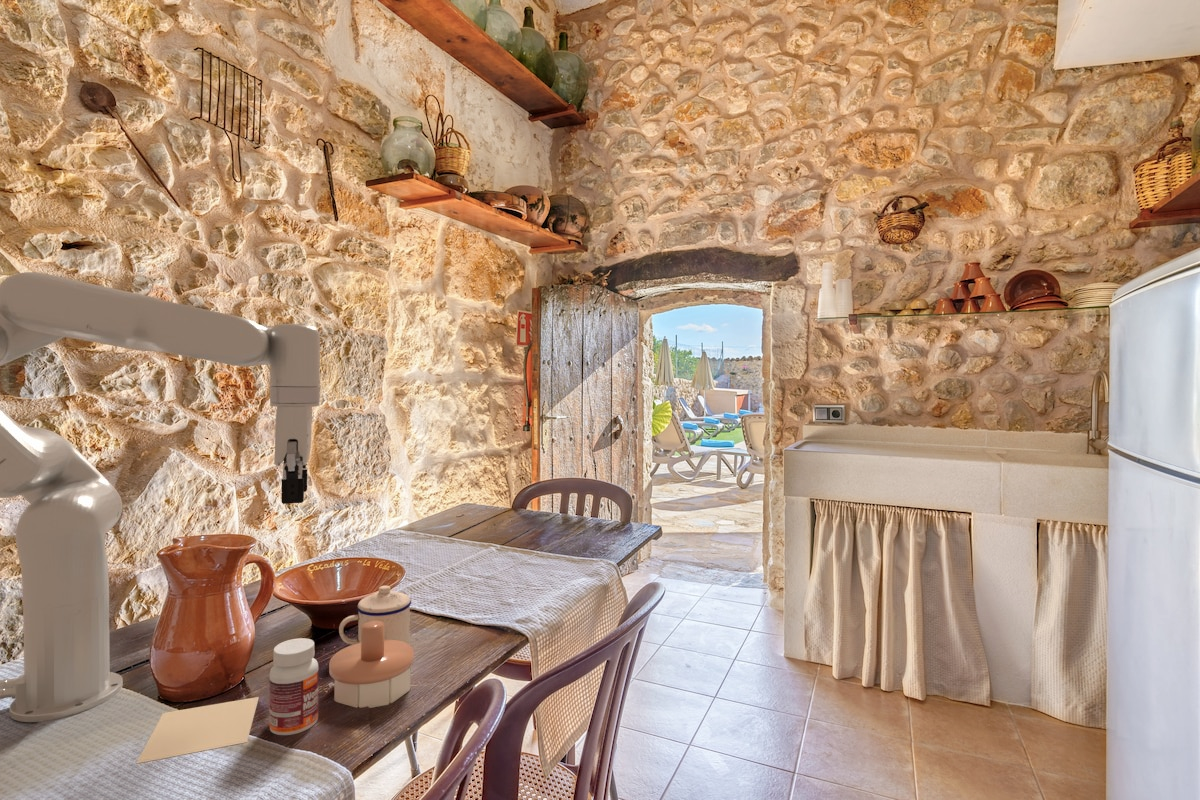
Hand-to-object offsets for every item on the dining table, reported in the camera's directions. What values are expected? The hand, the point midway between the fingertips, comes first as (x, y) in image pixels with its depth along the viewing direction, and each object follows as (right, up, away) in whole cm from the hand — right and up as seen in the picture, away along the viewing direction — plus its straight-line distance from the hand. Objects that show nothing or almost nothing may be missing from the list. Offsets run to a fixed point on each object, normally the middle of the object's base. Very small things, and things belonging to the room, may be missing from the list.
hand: (295, 497), depth 101 cm
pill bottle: (+9, -29, -18) cm, 35 cm away
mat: (-3, -29, -19) cm, 35 cm away
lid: (+16, -25, -8) cm, 31 cm away
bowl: (+16, -29, -8) cm, 34 cm away
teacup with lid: (+12, -29, +4) cm, 31 cm away
